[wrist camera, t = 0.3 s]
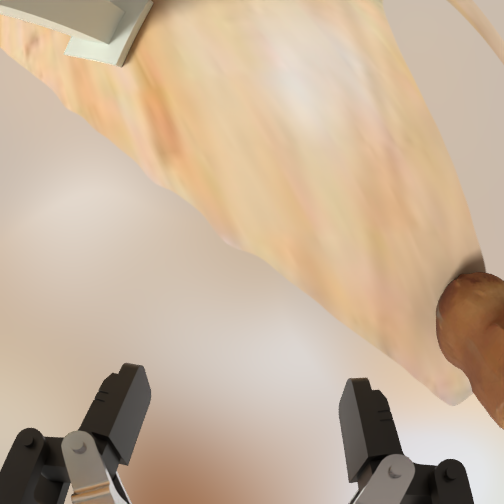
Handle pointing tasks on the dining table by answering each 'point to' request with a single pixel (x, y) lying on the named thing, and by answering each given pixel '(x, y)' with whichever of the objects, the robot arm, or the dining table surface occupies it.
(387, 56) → the dining table surface
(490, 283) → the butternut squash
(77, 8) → the stand
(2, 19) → the dining table surface
